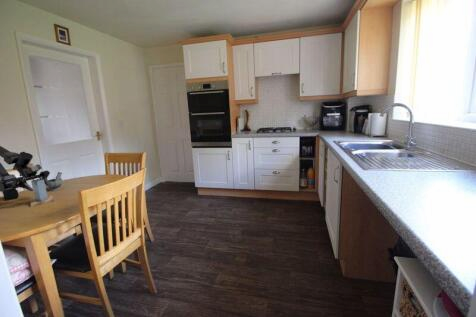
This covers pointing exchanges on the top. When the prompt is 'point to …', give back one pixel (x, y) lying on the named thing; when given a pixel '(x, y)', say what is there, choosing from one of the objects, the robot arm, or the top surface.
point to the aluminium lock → (39, 190)
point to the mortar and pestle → (55, 182)
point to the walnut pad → (34, 202)
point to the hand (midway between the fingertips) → (40, 187)
